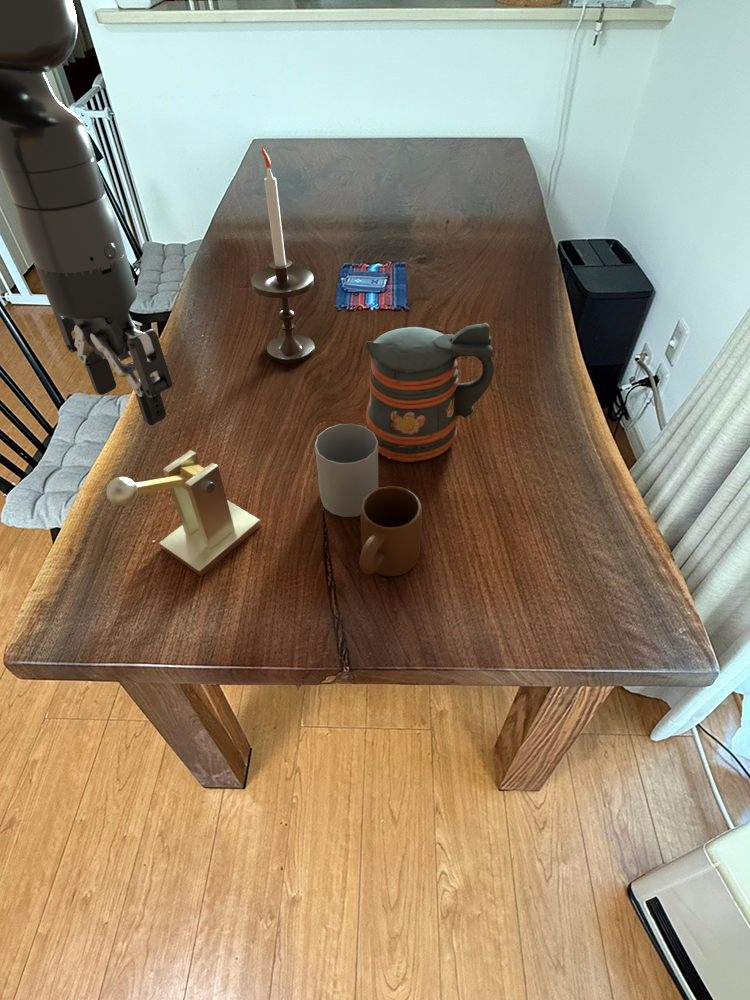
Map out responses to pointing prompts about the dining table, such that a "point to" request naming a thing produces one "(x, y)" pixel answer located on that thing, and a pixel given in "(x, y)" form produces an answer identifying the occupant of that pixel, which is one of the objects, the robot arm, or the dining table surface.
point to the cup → (346, 467)
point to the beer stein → (423, 388)
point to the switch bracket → (204, 518)
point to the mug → (390, 531)
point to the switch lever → (147, 485)
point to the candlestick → (282, 283)
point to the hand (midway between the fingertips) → (130, 405)
